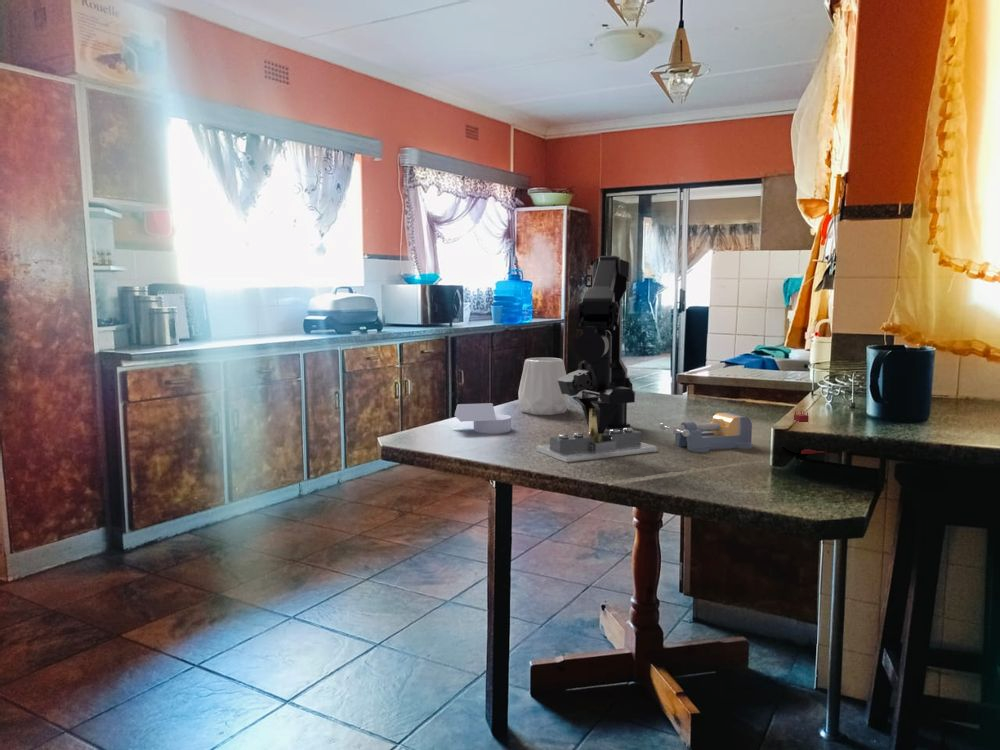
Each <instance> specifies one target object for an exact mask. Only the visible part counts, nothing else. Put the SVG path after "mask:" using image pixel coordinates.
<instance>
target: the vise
mask: <svg viewBox="0 0 1000 750" xmlns="http://www.w3.org/2000/svg"><path fill="white" fill-rule="evenodd" d="M752 423H753V422H752V421H751V420H750V418H749V417H747V416H744V415H743V416H742V415H740V414H739V415H738V414H734V413H731V412H728V411H727V412H726V411H725V412H717V413H715V414H714V415H713V417H712V419H711V421H710V422H704V423H696V422H694V421H684V422H681V423H680V425H678V424H676V425H667V423H665V422H660V423H659V425H658V427H659V429H660V430H663V431H664V430H668V433H669V434H671V435H675V436H674V437H675V438H674V446H676V447H686V449H687V450H688V451H691V452H694V453H706V452H707V453H708V452H709V451H711V450H721V449H722V450H723V449H726V450H727V449H738V450H739V449H740V450H750V449H751V450H752V448H753V442H752V436H753V435H752V433H753V432H752V431H753V430H752V429H753V424H752Z"/></svg>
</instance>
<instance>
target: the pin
mask: <svg viewBox="0 0 1000 750" xmlns="http://www.w3.org/2000/svg"><path fill="white" fill-rule="evenodd" d="M588 436H589V437H592V443H593V442H602V441H603V434H599V433H598V428H597V414H596V408H595V407H593V408H589V427H588Z"/></svg>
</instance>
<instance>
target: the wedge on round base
mask: <svg viewBox="0 0 1000 750" xmlns="http://www.w3.org/2000/svg"><path fill="white" fill-rule="evenodd" d="M454 417H455V418H456V419H457V420H458V421H459V422H473V431H474V432H476V433H481V434H504V433H508V432H511V431H512V416H511V415H509V414H502V413H495V407H494V404H493V403H491V402H487V403H486V402H483V403H459V404H457V405H456V409H455V411H454Z"/></svg>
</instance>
